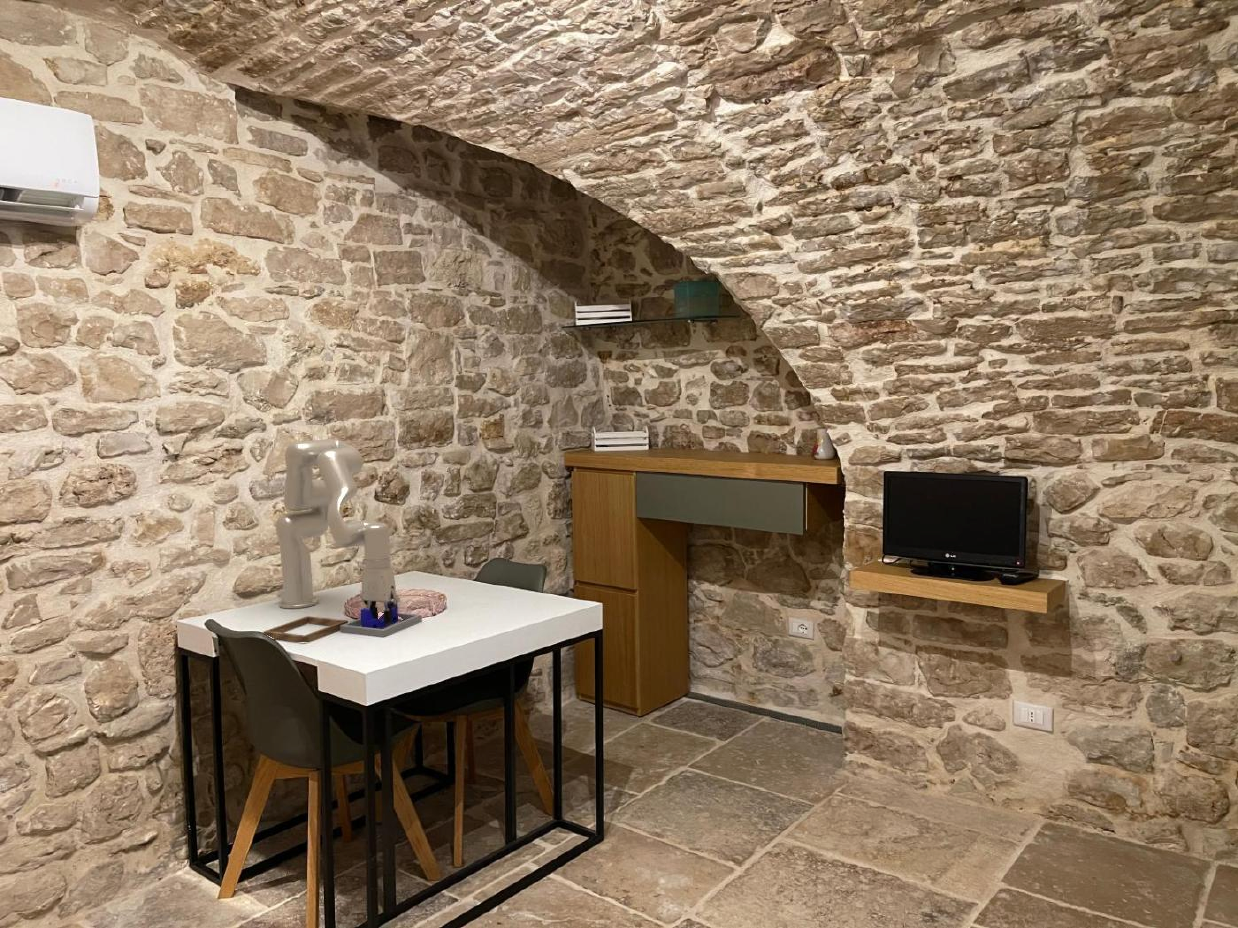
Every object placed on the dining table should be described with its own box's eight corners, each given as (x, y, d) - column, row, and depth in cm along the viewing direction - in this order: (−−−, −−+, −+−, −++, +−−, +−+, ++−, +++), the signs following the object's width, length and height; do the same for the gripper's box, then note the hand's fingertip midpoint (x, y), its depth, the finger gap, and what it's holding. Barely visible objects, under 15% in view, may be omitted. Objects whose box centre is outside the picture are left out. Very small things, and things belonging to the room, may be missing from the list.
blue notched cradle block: (371, 630, 287) (370, 611, 287) (361, 628, 290) (360, 609, 289) (401, 621, 297) (400, 602, 296) (391, 619, 300) (390, 601, 299)
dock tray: (340, 632, 289) (340, 625, 288) (380, 616, 305) (379, 610, 305) (383, 637, 282) (383, 630, 281) (421, 621, 298) (421, 614, 298)
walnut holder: (263, 638, 285) (263, 631, 284) (307, 622, 301) (307, 616, 301) (305, 643, 278) (305, 636, 277) (348, 626, 294) (348, 620, 294)
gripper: (347, 564, 292) (351, 622, 294) (392, 568, 284) (395, 627, 286) (364, 559, 298) (367, 616, 300) (408, 563, 291) (411, 621, 293)
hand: (381, 620), depth 293 cm, fingers open, 5 cm apart
